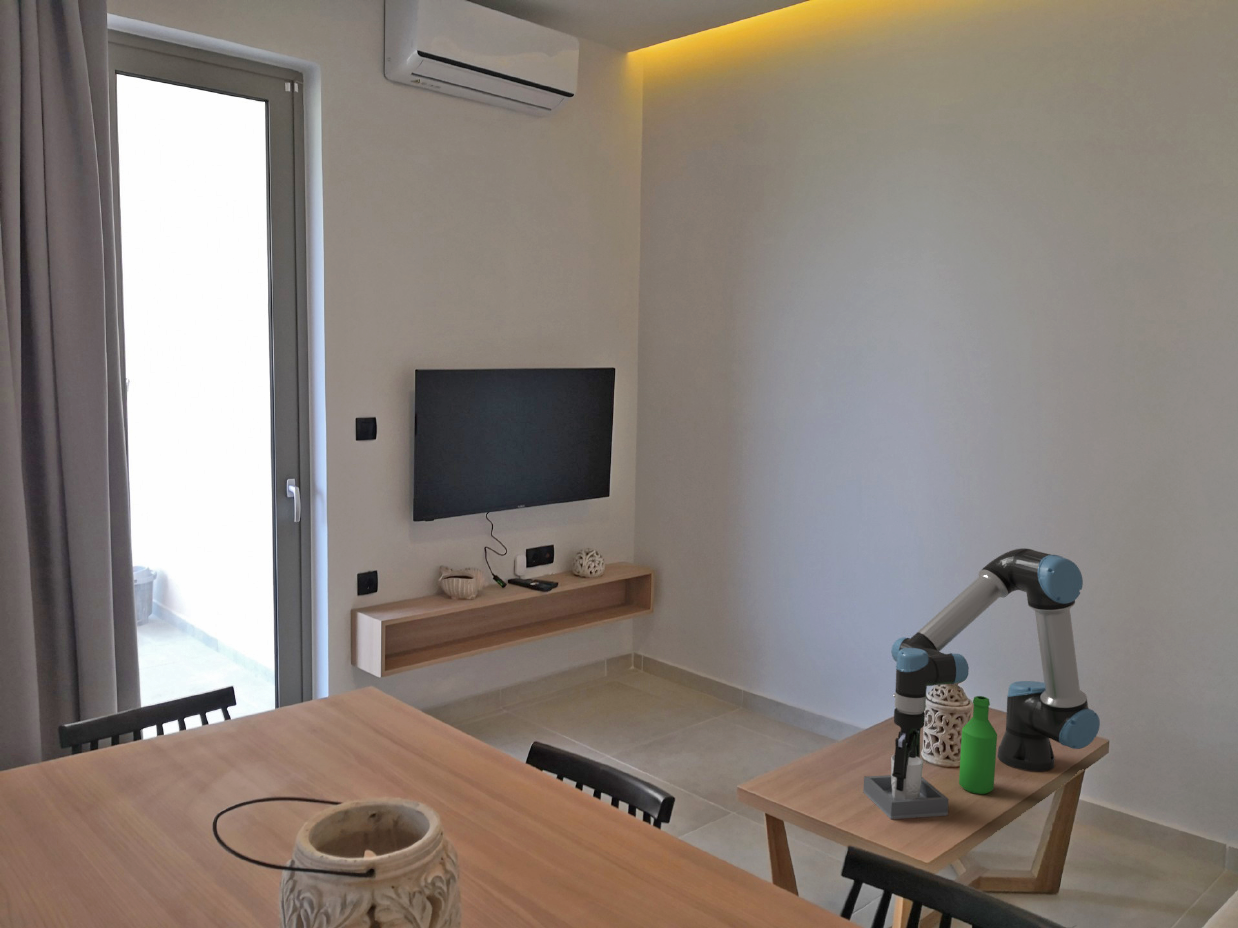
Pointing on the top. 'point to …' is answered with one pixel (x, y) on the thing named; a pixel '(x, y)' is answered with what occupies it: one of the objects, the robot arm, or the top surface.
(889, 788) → the gray tray
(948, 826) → the top surface
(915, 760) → the white cup
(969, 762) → the bottle
